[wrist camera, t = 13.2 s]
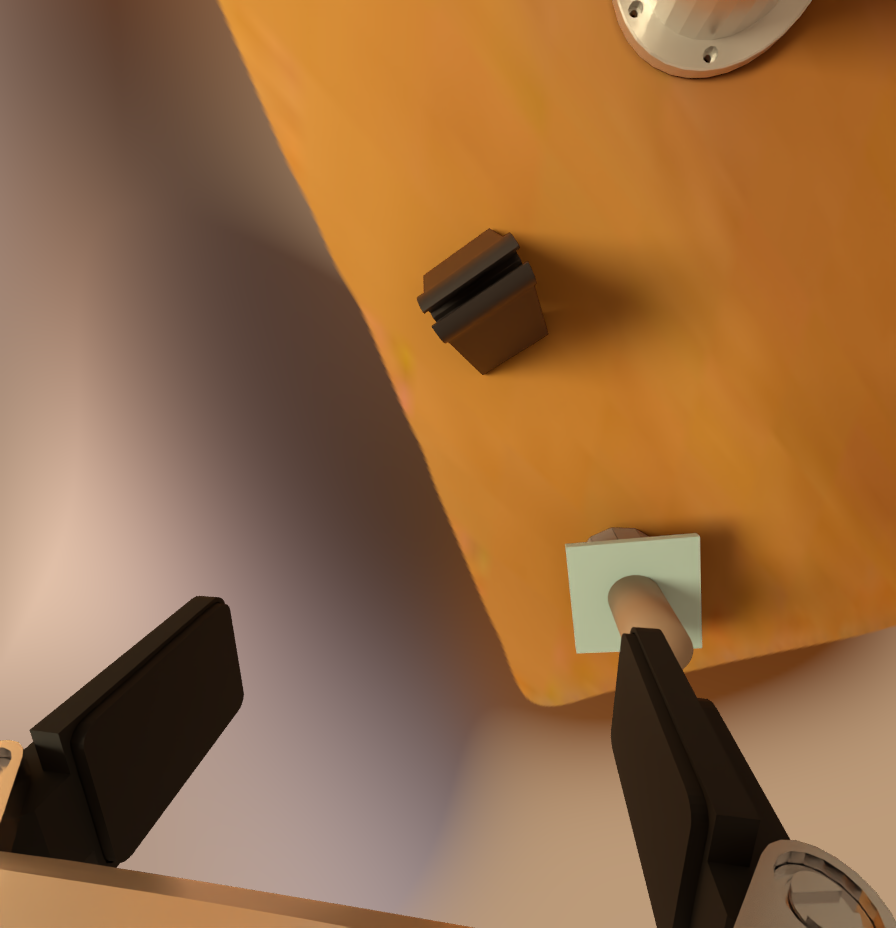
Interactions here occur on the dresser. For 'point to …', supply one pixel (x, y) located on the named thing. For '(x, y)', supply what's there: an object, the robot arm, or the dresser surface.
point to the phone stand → (484, 301)
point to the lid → (636, 591)
